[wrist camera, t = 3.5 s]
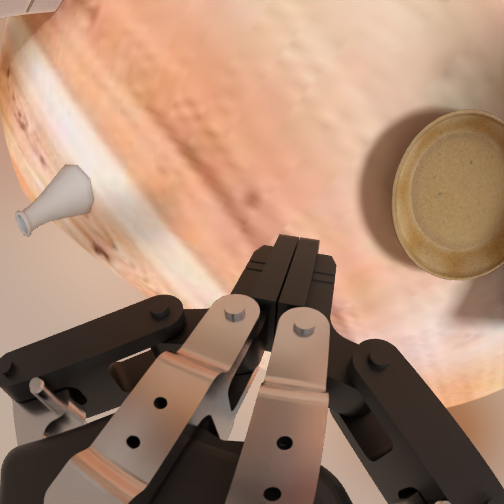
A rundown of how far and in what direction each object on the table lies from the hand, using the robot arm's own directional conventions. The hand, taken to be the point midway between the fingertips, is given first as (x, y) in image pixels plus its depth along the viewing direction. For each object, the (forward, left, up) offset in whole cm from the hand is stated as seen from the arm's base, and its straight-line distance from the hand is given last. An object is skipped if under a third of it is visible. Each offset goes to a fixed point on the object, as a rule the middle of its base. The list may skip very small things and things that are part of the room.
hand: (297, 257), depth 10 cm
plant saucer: (+13, 0, -14) cm, 19 cm away
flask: (-30, -4, -13) cm, 33 cm away
